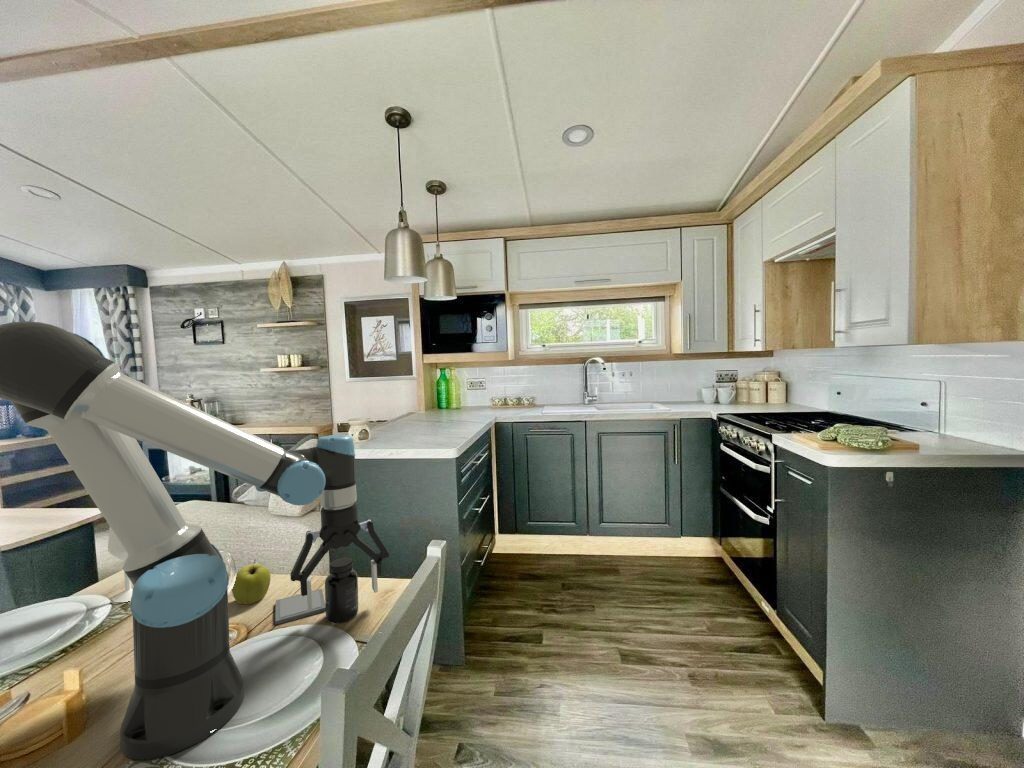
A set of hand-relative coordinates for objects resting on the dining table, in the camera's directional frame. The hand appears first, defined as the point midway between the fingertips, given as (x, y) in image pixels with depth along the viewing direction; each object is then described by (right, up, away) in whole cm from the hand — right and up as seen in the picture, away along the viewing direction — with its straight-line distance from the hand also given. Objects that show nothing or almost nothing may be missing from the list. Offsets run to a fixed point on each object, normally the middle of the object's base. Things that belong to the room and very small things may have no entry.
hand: (343, 599), depth 92 cm
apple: (-25, -4, +7) cm, 27 cm away
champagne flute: (-58, -5, +11) cm, 59 cm away
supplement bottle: (0, -4, 0) cm, 4 cm away
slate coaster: (-12, -4, +4) cm, 13 cm away
